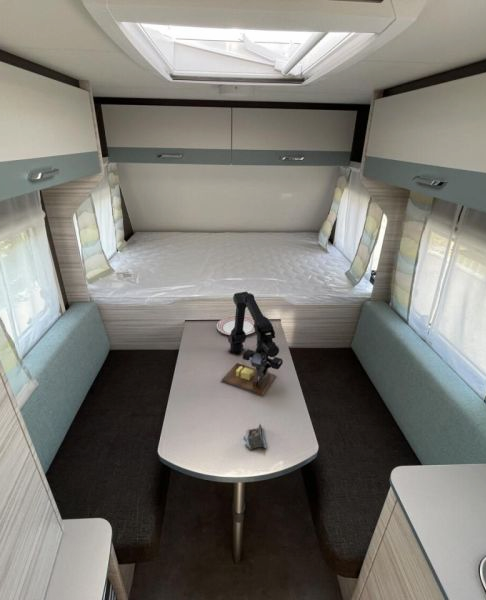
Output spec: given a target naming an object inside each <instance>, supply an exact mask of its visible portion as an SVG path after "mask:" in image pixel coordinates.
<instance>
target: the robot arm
mask: <svg viewBox="0 0 486 600" xmlns="http://www.w3.org/2000/svg"><path fill="white" fill-rule="evenodd" d="M232 300H233V303H234V304H235V315H234V316H235V326H234V328H233V330H232V331H231V335H228V337H227V342H228V344H229V345H230V346H229V347H230V350H228V353H230V354H234V355H236V356H240V355H241V354H242V352H243V354H242V360H245V361H249V360H250V364H251V367H252V368H255V369H258V368H261V367H262V366H264V367H265V369H264V375H265V374H266V373H267V372H269V371H268V370H269V369H270V368H271V369H274V370H279V369H280V368H281V366H282V365H283V361H284V360H283V359H282V358H280V357H277V356H278V355H279V352H280V348H279V346H278V345H277V344H276V342H275V341H273V339H276V331H275V329H274V326H273V324H272V322H271V321H270V320H269V318H268V317H266V316H265V315H264V314H263V312H262V311H261V309H260V307H259V305H258V303H257V301H256V299H255V295H254V294H253V293H251V292H248V291H240V292H236V293H233V296H232ZM246 309H248V312H249V314H250V317H252V318H253V320H254V329H255V332H254V333H255V335H256V348H255V350H253V349H250V348H248V349H246V350H245V351H244V344H243V343H245V342H246V339H247V335H246V334H245V332H244V330H243V326H244V317H245V316H246Z"/></svg>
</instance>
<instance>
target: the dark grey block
mask: <svg viewBox="0 0 486 600" xmlns="http://www.w3.org/2000/svg"><path fill="white" fill-rule="evenodd" d="M264 369H265V367H264V366H262V367H261V368H258V369H257V375H258V376H259V377H258V383H259V382H260V380H261V379H262V378H263V376H264Z"/></svg>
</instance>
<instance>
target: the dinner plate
mask: <svg viewBox="0 0 486 600" xmlns="http://www.w3.org/2000/svg"><path fill="white" fill-rule="evenodd" d="M235 316H236V315H230V316H226V317H224V318H222V319H220V320H219V321H217V324H216V329H217V330H218V331H219V332H220V333H222V334H224V335H227V336H230V335H231V331H232V330H233V328H234V326H235ZM243 330H244V332H245V334H246V336H247V335H250V334H253V333H256V332H255V329H254V320H253V318H252V316H248V315H245V317H244V326H243Z"/></svg>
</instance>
